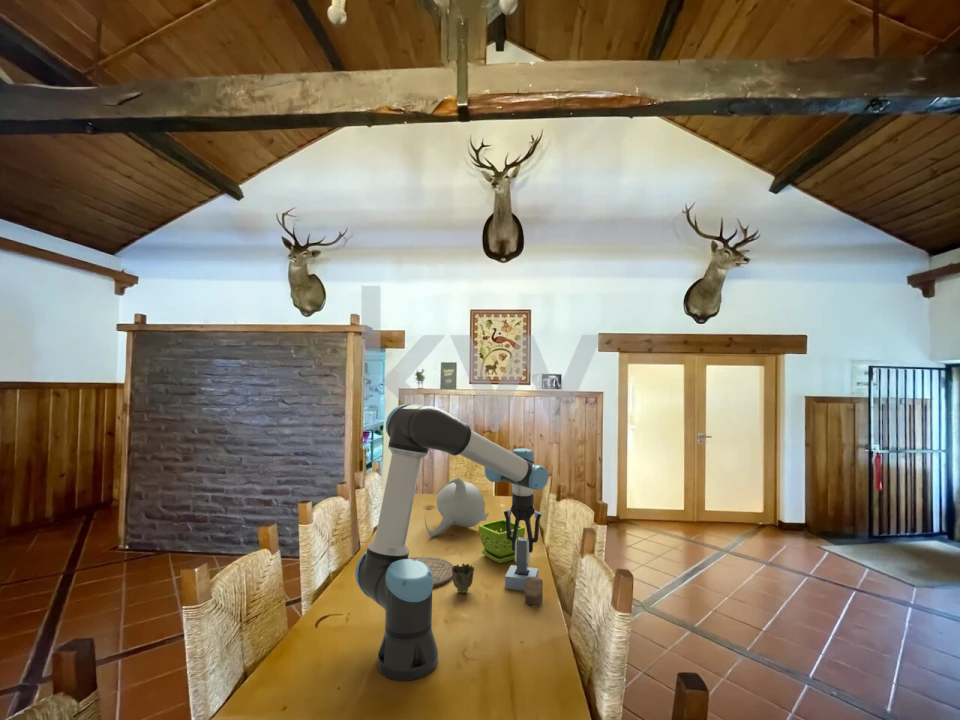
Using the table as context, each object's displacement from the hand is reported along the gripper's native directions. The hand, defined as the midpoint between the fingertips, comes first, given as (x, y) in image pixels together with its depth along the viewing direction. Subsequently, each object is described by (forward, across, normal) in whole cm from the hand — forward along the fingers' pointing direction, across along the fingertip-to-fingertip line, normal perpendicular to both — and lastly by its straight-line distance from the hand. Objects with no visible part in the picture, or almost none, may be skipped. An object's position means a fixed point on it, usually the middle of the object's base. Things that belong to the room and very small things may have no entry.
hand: (522, 560), depth 162 cm
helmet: (+8, +38, -46) cm, 60 cm away
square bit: (+5, 0, 0) cm, 5 cm away
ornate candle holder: (+8, +18, +12) cm, 23 cm away
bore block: (+8, 0, 0) cm, 8 cm away
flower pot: (+8, +12, -21) cm, 26 cm away
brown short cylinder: (+8, -6, +12) cm, 16 cm away
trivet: (+8, +37, +3) cm, 38 cm away
